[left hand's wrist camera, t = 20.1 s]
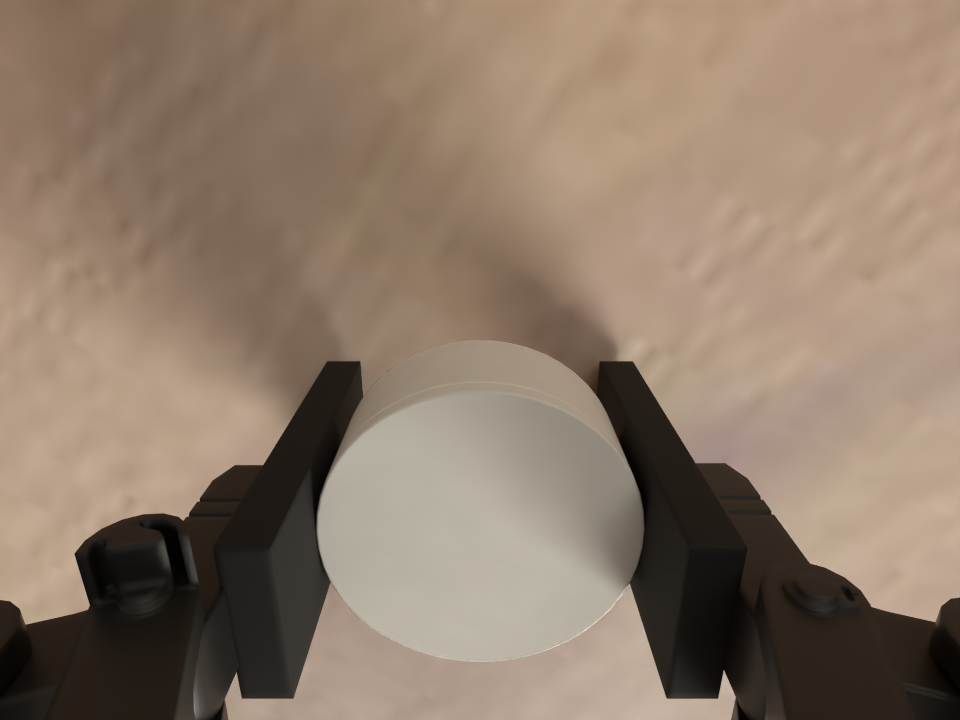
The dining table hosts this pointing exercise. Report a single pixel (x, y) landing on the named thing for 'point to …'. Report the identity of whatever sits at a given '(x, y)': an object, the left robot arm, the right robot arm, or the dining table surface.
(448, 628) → the lid
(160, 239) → the dining table surface
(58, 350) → the dining table surface
